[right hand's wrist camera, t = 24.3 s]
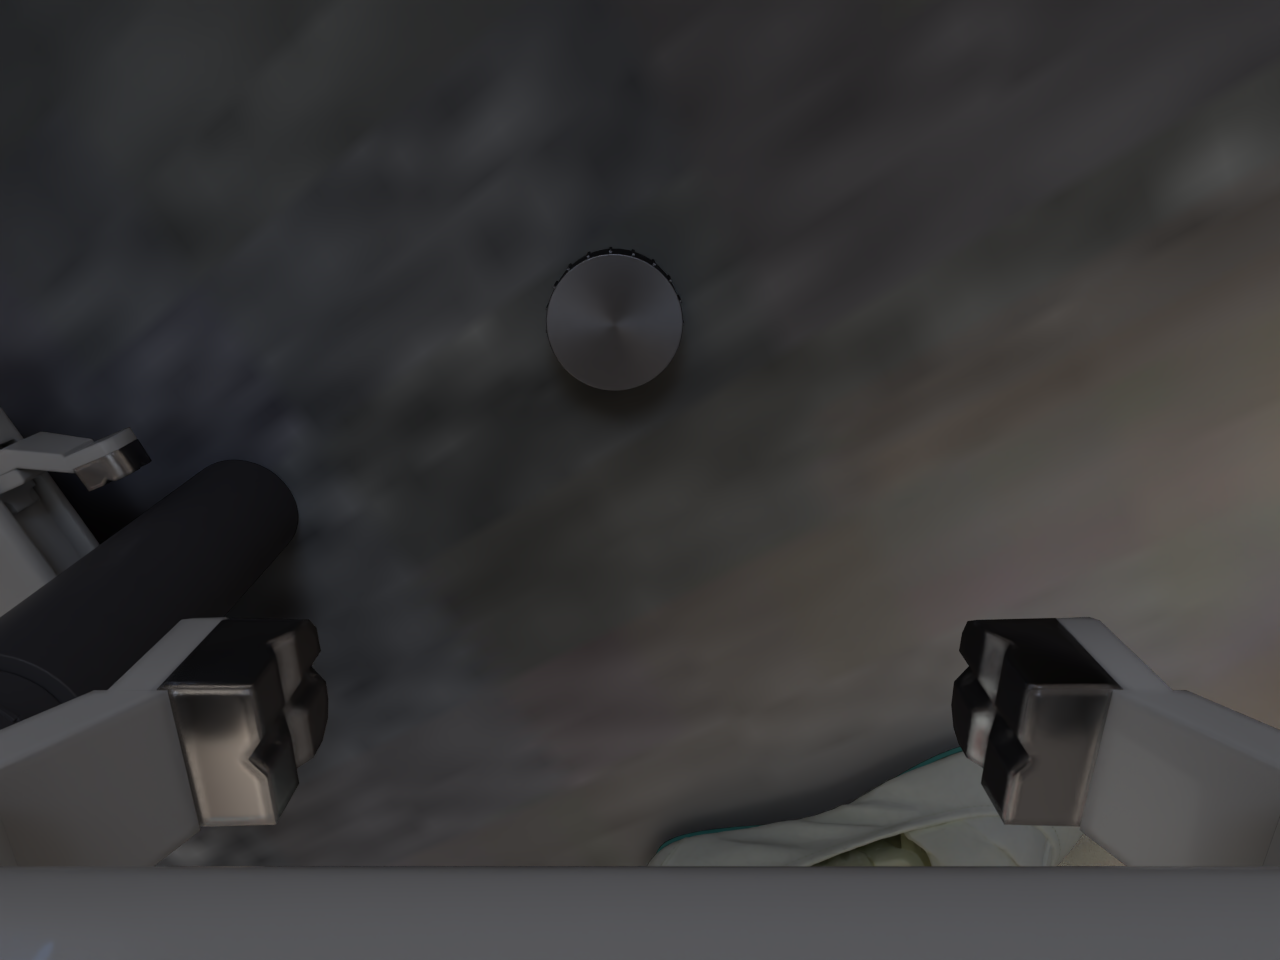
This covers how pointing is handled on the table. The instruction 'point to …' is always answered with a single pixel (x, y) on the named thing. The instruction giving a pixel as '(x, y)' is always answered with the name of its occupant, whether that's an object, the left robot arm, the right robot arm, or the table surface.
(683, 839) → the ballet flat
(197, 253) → the table surface
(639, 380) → the lid
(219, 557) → the black cylinder
